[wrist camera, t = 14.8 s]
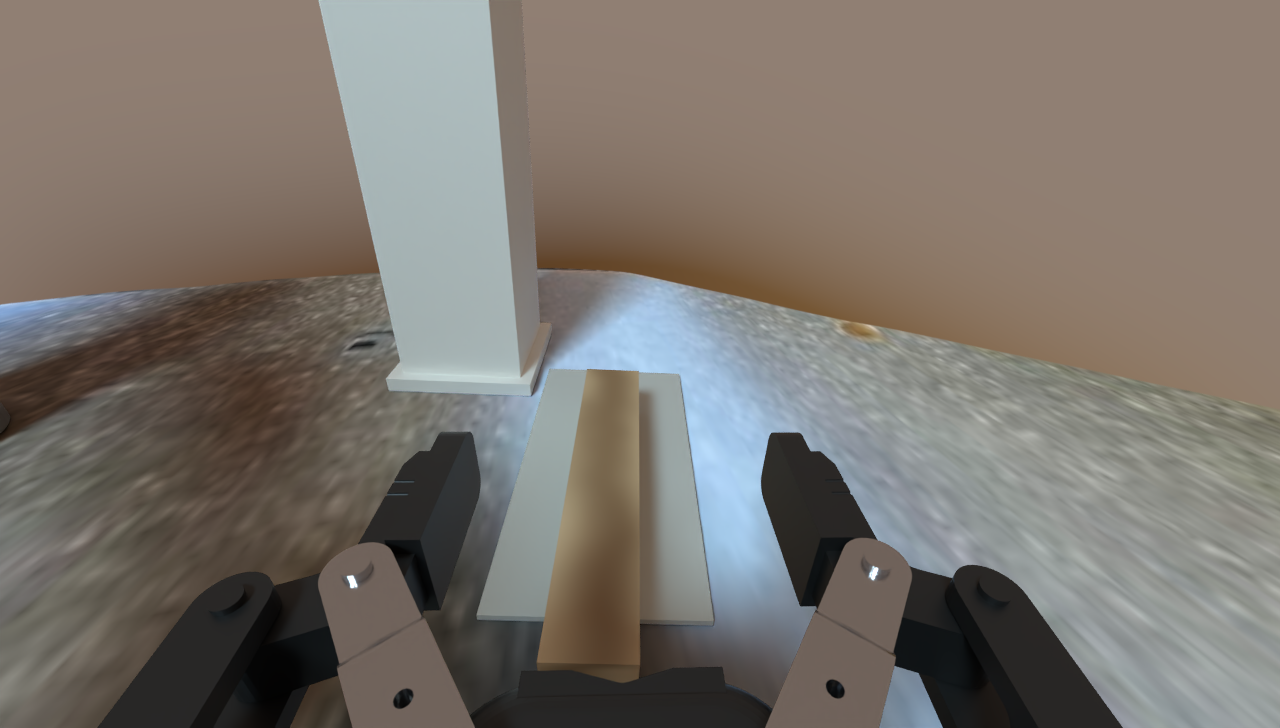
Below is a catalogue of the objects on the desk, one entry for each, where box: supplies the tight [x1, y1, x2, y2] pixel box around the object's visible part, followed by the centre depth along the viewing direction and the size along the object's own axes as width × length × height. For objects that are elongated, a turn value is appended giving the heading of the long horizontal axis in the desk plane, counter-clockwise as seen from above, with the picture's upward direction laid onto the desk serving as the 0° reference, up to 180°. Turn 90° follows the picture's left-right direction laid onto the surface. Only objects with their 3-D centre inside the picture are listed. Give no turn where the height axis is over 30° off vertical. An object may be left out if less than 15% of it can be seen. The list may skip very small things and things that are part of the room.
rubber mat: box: [477, 369, 714, 626], centre depth 35 cm, size 12×24×1 cm, turn 0°
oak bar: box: [537, 369, 640, 683], centre depth 30 cm, size 4×22×4 cm, turn 0°
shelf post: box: [318, 0, 552, 396], centre depth 39 cm, size 12×12×32 cm
